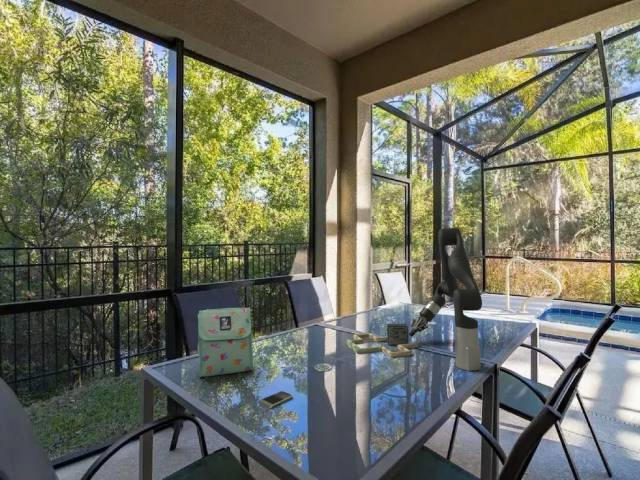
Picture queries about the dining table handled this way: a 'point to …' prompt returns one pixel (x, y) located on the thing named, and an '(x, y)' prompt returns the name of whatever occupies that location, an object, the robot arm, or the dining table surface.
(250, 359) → the lunch bag
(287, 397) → the cell phone
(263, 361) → the dining table surface
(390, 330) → the small box
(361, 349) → the trap course
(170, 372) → the dining table surface
